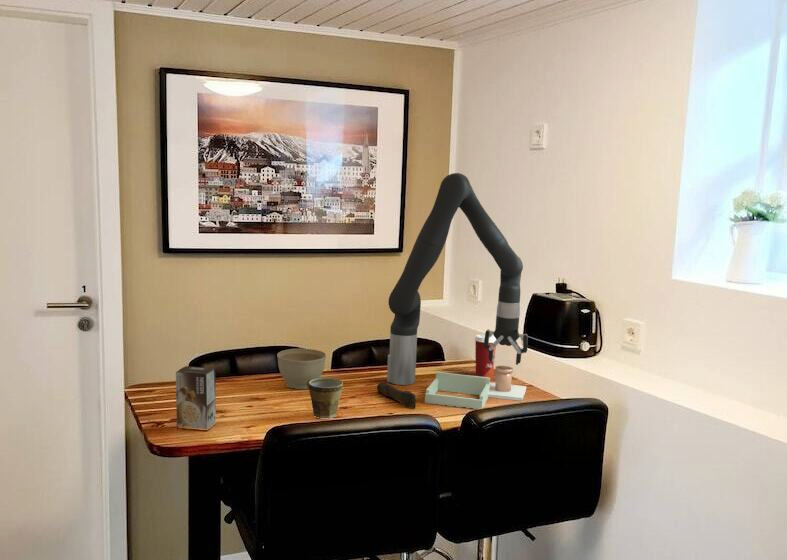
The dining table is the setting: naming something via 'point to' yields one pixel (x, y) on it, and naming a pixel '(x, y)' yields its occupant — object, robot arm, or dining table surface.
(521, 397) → the pale green square plate
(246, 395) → the dining table surface
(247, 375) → the dining table surface
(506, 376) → the lidded jar
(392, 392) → the hand tool
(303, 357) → the planter bowl
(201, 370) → the coffee box
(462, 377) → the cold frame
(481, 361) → the coffee cup
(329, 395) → the ceramic cup
